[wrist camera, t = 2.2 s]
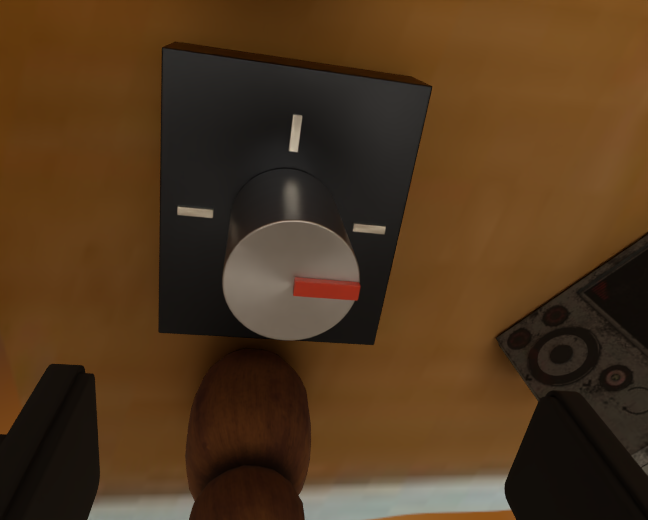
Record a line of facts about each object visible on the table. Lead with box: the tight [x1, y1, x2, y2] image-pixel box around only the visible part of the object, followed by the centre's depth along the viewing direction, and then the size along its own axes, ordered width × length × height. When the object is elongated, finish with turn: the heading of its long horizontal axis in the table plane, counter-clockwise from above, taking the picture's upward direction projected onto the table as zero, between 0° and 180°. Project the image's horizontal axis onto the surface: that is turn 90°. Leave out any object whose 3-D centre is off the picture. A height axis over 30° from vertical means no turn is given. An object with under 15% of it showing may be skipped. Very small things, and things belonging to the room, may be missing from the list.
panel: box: [159, 42, 432, 345], centre depth 23 cm, size 10×12×3 cm
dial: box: [222, 169, 361, 340], centre depth 19 cm, size 4×4×6 cm
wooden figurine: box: [185, 349, 311, 520], centre depth 22 cm, size 7×6×15 cm
